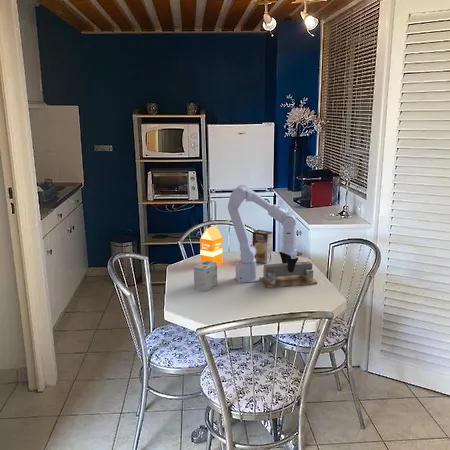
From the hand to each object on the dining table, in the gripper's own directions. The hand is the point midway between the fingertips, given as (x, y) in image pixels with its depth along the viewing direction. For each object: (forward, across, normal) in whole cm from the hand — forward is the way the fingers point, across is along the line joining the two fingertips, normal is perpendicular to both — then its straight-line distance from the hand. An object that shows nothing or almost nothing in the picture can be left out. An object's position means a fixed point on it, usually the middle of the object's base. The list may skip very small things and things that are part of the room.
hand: (288, 269), depth 218 cm
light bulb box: (+6, +2, +38) cm, 39 cm away
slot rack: (+6, 0, 0) cm, 6 cm away
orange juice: (+6, +33, +30) cm, 45 cm away
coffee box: (+6, +33, +3) cm, 34 cm away
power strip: (+2, 0, 0) cm, 2 cm away
